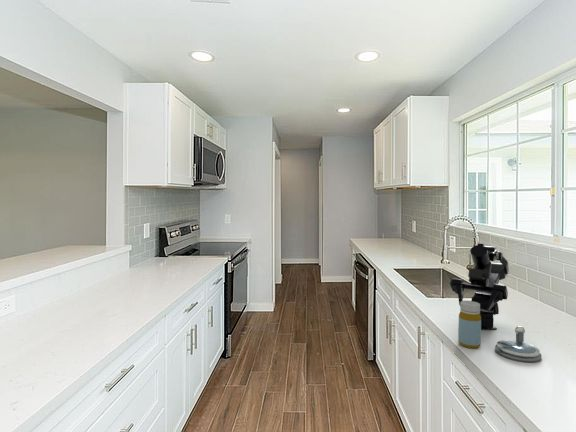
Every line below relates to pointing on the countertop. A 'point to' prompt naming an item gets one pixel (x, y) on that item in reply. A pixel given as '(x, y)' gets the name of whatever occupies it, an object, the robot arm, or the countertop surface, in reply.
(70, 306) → the countertop surface
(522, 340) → the turntable base
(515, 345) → the platter
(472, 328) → the bottle
